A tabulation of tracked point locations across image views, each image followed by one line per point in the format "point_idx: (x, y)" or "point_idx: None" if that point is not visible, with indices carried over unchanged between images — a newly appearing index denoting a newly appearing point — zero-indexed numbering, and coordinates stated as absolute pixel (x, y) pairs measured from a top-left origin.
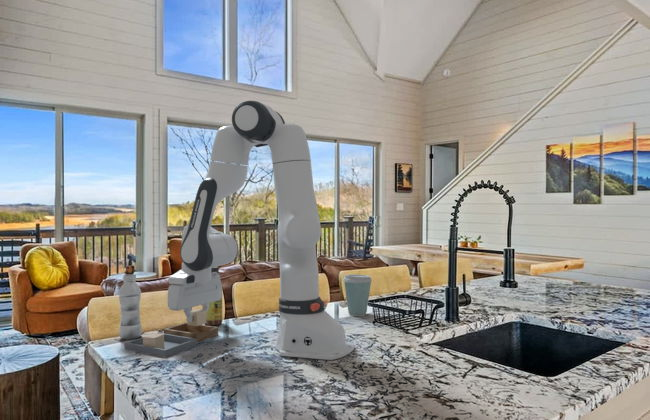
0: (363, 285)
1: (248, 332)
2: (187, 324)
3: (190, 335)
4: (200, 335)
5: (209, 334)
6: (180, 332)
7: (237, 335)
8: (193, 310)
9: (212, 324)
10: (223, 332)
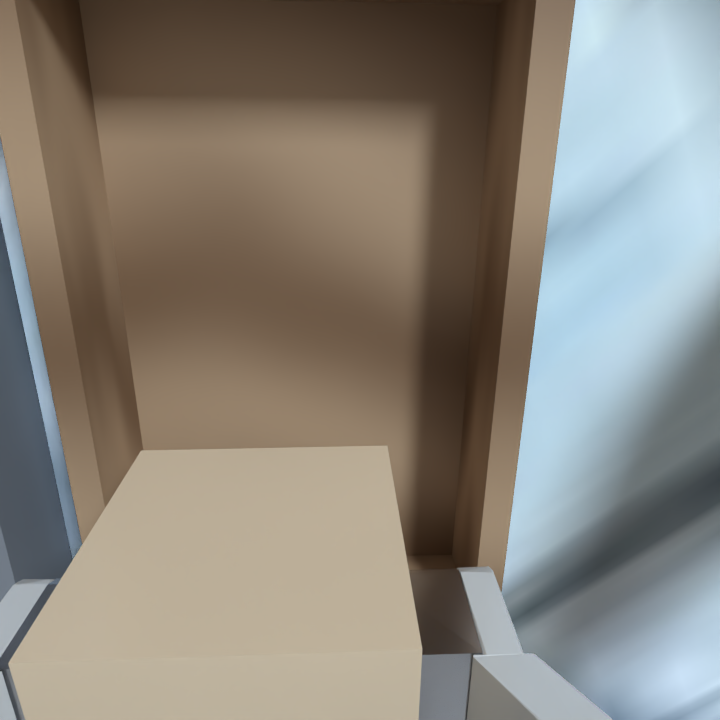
0: None
1: (712, 685)
2: (140, 457)
3: None
4: None
5: None
6: (52, 371)
7: (583, 666)
8: (228, 698)
9: None
10: (651, 488)
